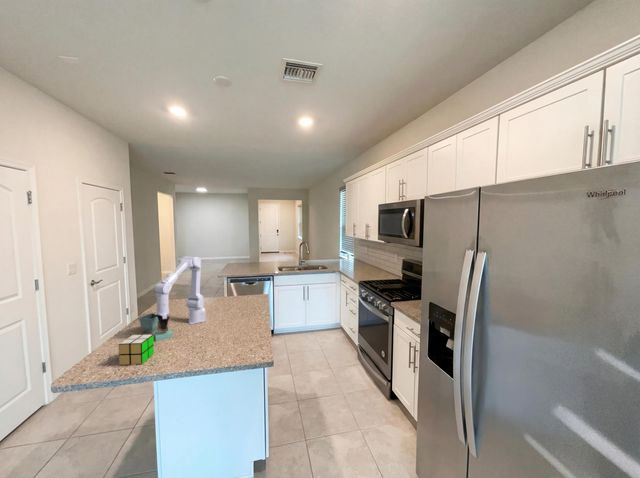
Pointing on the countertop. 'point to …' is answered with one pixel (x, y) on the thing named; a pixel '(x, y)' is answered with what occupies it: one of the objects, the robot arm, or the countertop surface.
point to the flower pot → (149, 322)
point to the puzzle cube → (136, 349)
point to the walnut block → (161, 329)
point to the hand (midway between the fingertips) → (163, 327)
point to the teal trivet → (163, 335)
